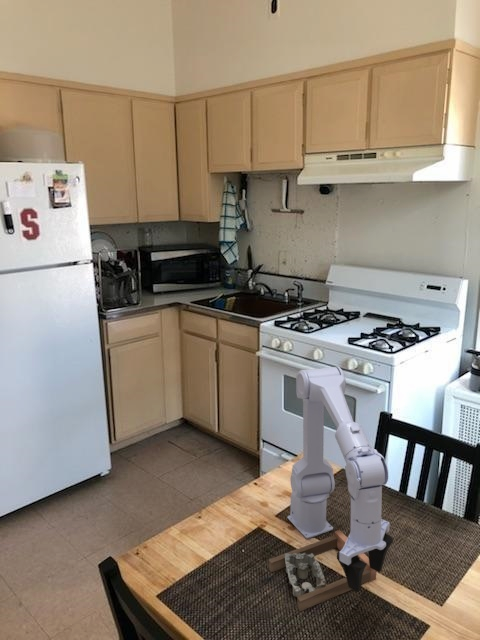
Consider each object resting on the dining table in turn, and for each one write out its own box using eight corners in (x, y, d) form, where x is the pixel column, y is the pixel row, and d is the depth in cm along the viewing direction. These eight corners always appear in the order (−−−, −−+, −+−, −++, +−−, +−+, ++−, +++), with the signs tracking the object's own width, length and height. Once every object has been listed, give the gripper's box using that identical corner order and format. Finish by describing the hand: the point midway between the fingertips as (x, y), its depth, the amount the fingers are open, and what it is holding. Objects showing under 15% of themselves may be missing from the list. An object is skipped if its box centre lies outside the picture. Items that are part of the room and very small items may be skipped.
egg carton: (326, 599, 109) (327, 583, 108) (291, 601, 108) (291, 585, 107) (315, 562, 119) (316, 547, 118) (283, 565, 119) (283, 550, 117)
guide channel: (268, 568, 117) (268, 555, 116) (339, 542, 125) (339, 529, 124) (300, 611, 106) (300, 597, 105) (375, 579, 114) (376, 565, 113)
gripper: (362, 541, 91) (362, 608, 94) (404, 507, 101) (402, 569, 104) (329, 525, 96) (330, 590, 99) (372, 495, 106) (371, 554, 109)
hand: (365, 578), depth 102 cm, fingers open, 7 cm apart
